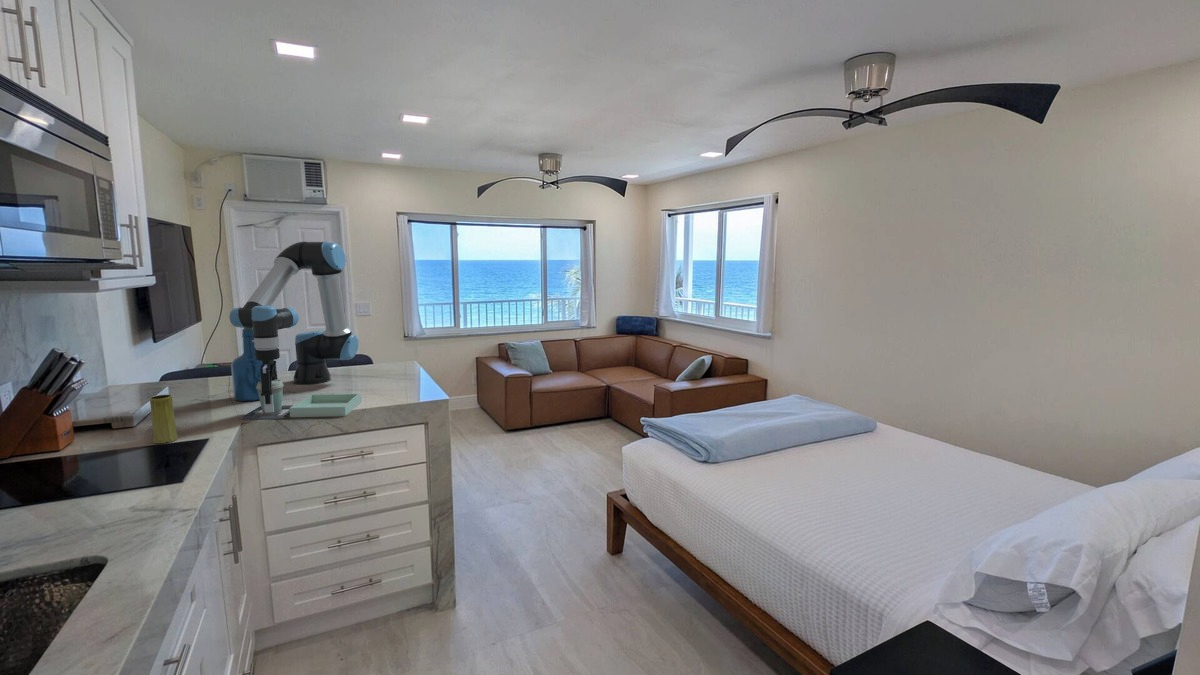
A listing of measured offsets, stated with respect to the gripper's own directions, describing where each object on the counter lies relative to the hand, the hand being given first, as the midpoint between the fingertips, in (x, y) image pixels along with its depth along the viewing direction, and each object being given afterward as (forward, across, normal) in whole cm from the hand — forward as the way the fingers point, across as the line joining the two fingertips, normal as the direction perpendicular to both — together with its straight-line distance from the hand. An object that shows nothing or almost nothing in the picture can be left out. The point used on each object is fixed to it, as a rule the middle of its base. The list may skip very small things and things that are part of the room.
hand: (271, 408), depth 191 cm
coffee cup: (+2, 0, 0) cm, 2 cm away
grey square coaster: (+2, 0, 0) cm, 2 cm away
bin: (+2, 0, +18) cm, 18 cm away
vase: (+2, +22, -25) cm, 33 cm away
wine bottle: (+2, -26, -11) cm, 29 cm away
